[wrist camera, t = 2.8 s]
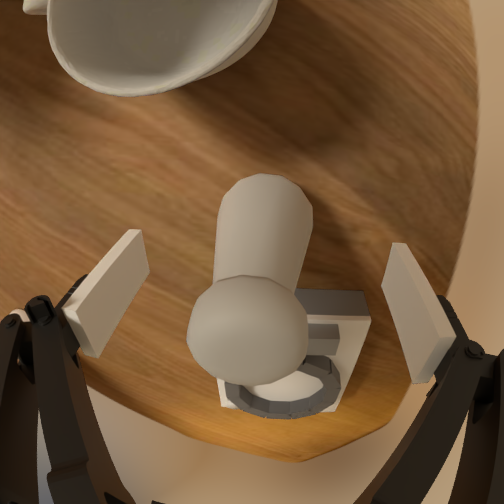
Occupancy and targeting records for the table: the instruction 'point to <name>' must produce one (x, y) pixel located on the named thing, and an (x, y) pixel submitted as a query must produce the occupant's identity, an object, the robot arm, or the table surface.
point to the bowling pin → (255, 285)
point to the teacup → (150, 40)
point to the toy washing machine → (311, 360)
